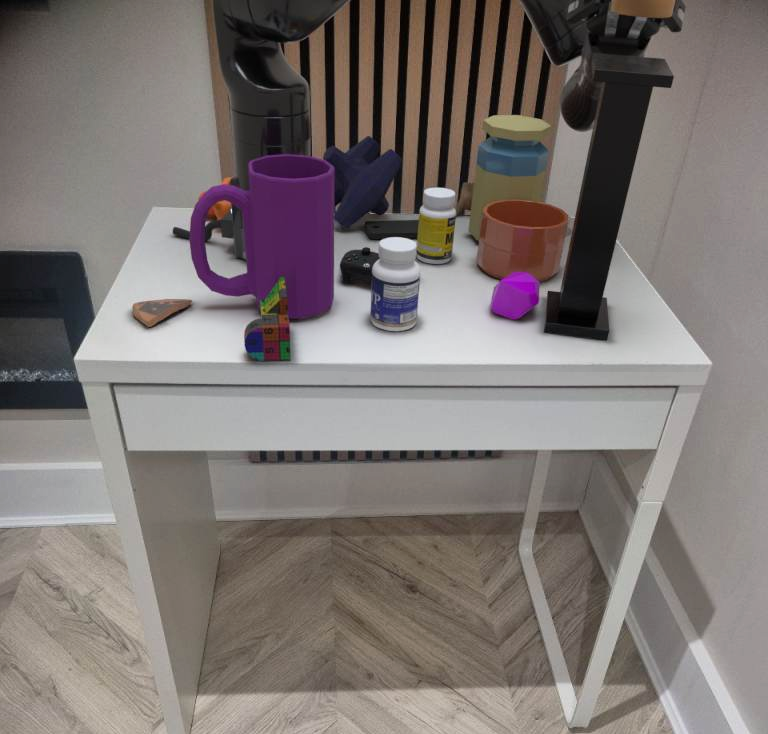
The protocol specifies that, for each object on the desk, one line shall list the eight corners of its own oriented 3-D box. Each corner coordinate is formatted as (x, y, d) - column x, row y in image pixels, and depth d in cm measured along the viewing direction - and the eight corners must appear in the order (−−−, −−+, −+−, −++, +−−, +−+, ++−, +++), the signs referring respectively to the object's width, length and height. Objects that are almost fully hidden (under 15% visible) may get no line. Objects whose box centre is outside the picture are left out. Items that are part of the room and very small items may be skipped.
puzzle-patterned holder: (289, 310, 75) (242, 311, 75) (290, 360, 79) (245, 361, 78) (284, 277, 81) (241, 278, 81) (286, 324, 85) (244, 325, 84)
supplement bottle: (448, 266, 100) (455, 200, 94) (413, 262, 100) (417, 195, 95) (453, 253, 103) (460, 188, 98) (419, 249, 104) (424, 184, 98)
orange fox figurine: (261, 202, 114) (245, 229, 104) (213, 209, 115) (192, 235, 105) (253, 166, 111) (235, 190, 101) (203, 173, 112) (181, 197, 102)
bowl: (472, 278, 97) (479, 222, 93) (480, 248, 105) (487, 195, 101) (557, 288, 96) (568, 232, 91) (558, 257, 104) (568, 204, 99)
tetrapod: (326, 229, 105) (346, 141, 99) (297, 203, 113) (314, 120, 108) (398, 241, 110) (421, 159, 105) (365, 216, 119) (385, 138, 113)
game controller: (422, 269, 96) (411, 247, 90) (408, 310, 96) (396, 289, 90) (353, 254, 99) (338, 231, 93) (339, 293, 98) (323, 272, 93)
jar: (454, 234, 109) (466, 118, 99) (501, 223, 113) (517, 111, 104) (498, 256, 103) (516, 135, 94) (546, 244, 108) (568, 127, 98)
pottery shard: (139, 319, 82) (128, 298, 85) (141, 331, 82) (129, 310, 86) (202, 310, 84) (188, 290, 87) (203, 322, 85) (189, 302, 88)
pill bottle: (368, 311, 88) (371, 233, 83) (413, 311, 89) (419, 234, 83) (371, 332, 84) (375, 252, 79) (419, 332, 85) (425, 253, 79)
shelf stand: (543, 332, 86) (595, 68, 70) (546, 299, 93) (593, 52, 77) (607, 340, 85) (674, 75, 69) (604, 306, 92) (665, 58, 76)
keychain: (440, 232, 107) (369, 233, 105) (440, 237, 107) (369, 238, 105) (432, 219, 111) (363, 220, 109) (431, 224, 111) (363, 225, 109)
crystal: (536, 323, 88) (543, 284, 85) (488, 319, 88) (494, 280, 85) (534, 304, 92) (540, 266, 89) (488, 300, 92) (494, 262, 89)
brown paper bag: (451, 217, 114) (460, 199, 120) (531, 232, 113) (536, 213, 119) (457, 178, 111) (466, 161, 116) (540, 193, 109) (545, 175, 115)
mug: (339, 319, 86) (340, 179, 76) (196, 325, 83) (179, 180, 74) (329, 285, 93) (329, 153, 83) (197, 289, 90) (181, 153, 81)
